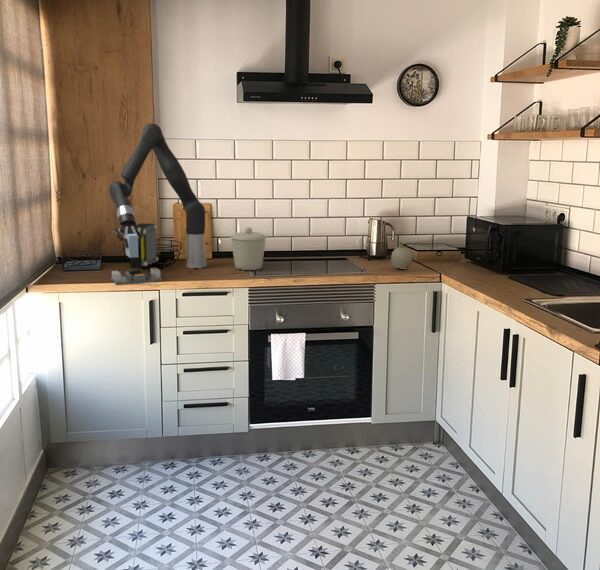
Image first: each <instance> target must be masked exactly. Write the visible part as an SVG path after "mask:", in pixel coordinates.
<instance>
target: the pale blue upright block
mask: <svg viewBox="0 0 600 570" xmlns="http://www.w3.org/2000/svg"><path fill="white" fill-rule="evenodd" d="M126 235H127V240H128V245H129V247H128V248H126V247H125V255H126V256H127V257H128V258H129V259H130V258H133V257H138V235H136V234H126Z"/></svg>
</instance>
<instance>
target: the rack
mask: <svg viewBox="0 0 600 570" xmlns="http://www.w3.org/2000/svg"><path fill="white" fill-rule="evenodd" d="M111 280H112V281H113V282H114V283H115V284H114V283H113V282H112V281H111ZM159 280H162V281H163V278H162V277H161V270H159V268H157V267H150V274H147V273H145V272H144V271H143V270H141V269H137V270H136V269H135V270H127V271H126V270H125V276H122V274H121V272H120V271H118V270H111V277H110V281H111V282H112V283H113V284H114V285H116V286H122V285H123V286H125V285H132V284H133V285H134V284H144V283H143V282H148V283H150V282H149V281H159ZM159 282H160V281H159Z"/></svg>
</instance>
